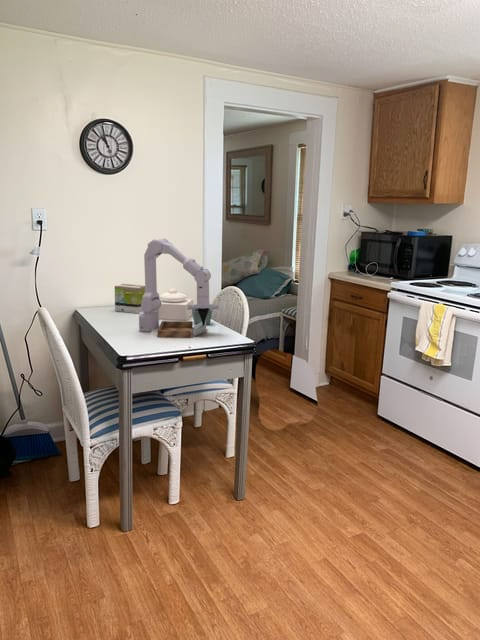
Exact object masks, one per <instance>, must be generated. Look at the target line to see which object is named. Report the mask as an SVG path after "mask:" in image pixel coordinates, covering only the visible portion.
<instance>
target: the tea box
mask: <svg viewBox="0 0 480 640" xmlns="http://www.w3.org/2000/svg"><path fill="white" fill-rule="evenodd" d="M144 294H145V285H141V284H139V285H138V284H130V283H121V284H118V285H114V310H115V312H122V313H132V314H139V313H140V312H143V310H142V308H141V303H142V297H143V295H144Z"/></svg>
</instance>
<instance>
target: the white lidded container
mask: <svg viewBox="0 0 480 640" xmlns="http://www.w3.org/2000/svg"><path fill="white" fill-rule="evenodd" d="M159 298H160V300H161V307H160V308H159V320H161V321H187V320H189V319H190V318H191V317H193V315H192V309H191V310H187V306H188V305H194V299H193V298H192V299H191V298H188V296H187V295H186V294H185V293H182V292H178V290H177V289H176V288H175V287H171V288H170V289H169V290H168V292H164V293H162V294H159Z"/></svg>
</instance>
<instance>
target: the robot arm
mask: <svg viewBox="0 0 480 640" xmlns="http://www.w3.org/2000/svg"><path fill="white" fill-rule="evenodd" d="M162 254H163V255H165V254H167V255H169V256H171V257H173V259H175V260H176V261H178V262H179V263H181V264H182V267H183V269H184V270H185V271H186V272H187V273H189V274H190V275H191V276H192V277H194V281H195V282H196V304H193V305H188V306H187V310H191V309H198V313H199V315H200V317H201V320H202V325H205V320H206V316H207V314H208V312H209V309H211V310H220V305H219V304H212V303H211V304H210V279H211V277H212V274H211V272H210V270H209V269H207V268H204V267H203V266H201V265H200V264H198V263H197V260H196V259H194V258H193V259H192V258H188V257H187V256H185V255H184V254H183V253H182V252H181V251H180V250H179V249H178V248H177V247H176V246H175V245H174V244H173V243H172V242H171V241H169V240H168V239H166V238H160V239H159V238H158V239H152V240H151V241H149V242H148V243H147V247H146V250H145V253H144V255H143V258H144V261H143V262H144V264H143V265H144V284H145V285H144V286H145V294H144V295H143V297H142V303H141V308H142V310H143V312H140V313H138V331H139V332H152V331H153V329H157V328H159V326H160V319H159V308H160V307H161V300H160V294H159V292H158V286H157V285H158V283H157V258H159V257H160V256H161V255H162Z"/></svg>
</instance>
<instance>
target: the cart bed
mask: <svg viewBox="0 0 480 640" xmlns="http://www.w3.org/2000/svg"><path fill="white" fill-rule="evenodd" d="M193 323H194V320H193V321H187V320H186V321H180V320H161V322H160V323H159V328H158V329H157V331H156V333H157V335H156V336H157V337H156V338H164V339H165V338H167V339H168V338H170V339H171V338H174V339H176V338H177V339H178V338H179V339H184V338H185V339H193V338H195V336H193V330H194V326H193V325H194V324H193Z"/></svg>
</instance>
